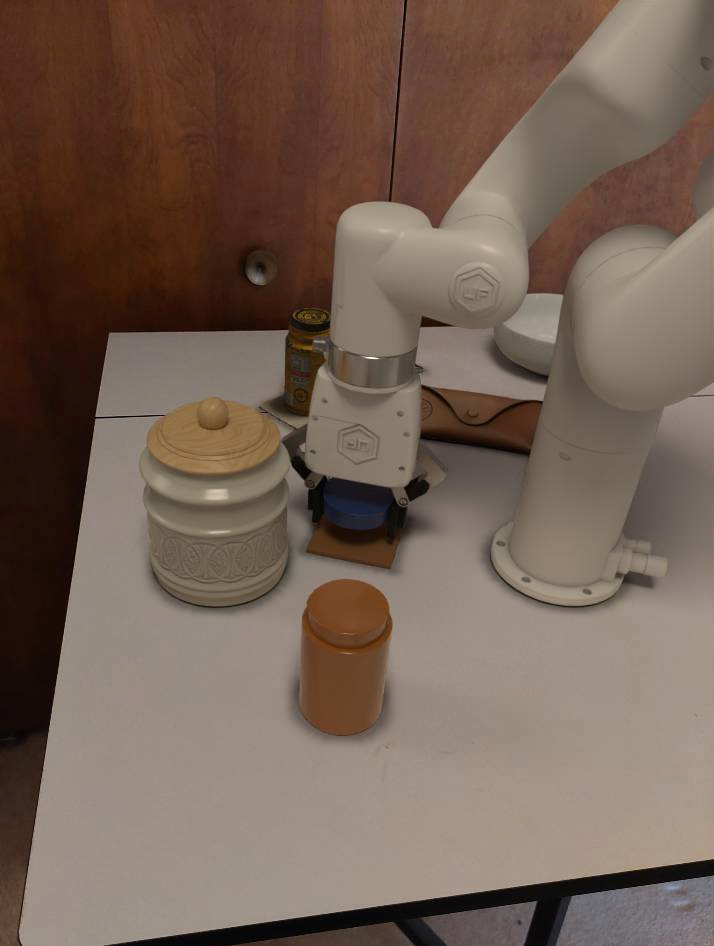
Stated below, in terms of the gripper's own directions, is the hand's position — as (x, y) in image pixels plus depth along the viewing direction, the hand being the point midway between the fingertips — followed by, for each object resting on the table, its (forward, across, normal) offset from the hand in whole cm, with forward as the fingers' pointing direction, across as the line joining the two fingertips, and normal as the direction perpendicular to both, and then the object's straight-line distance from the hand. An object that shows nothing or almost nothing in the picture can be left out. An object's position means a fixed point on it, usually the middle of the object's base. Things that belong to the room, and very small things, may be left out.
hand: (355, 522), depth 80 cm
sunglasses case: (+2, +9, +24) cm, 26 cm away
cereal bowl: (+1, +17, +46) cm, 49 cm away
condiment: (+2, -12, +24) cm, 27 cm away
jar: (+2, -11, -8) cm, 14 cm away
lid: (-3, 0, 0) cm, 3 cm away
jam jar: (+2, +4, -22) cm, 22 cm away
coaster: (+2, 0, 0) cm, 2 cm away
